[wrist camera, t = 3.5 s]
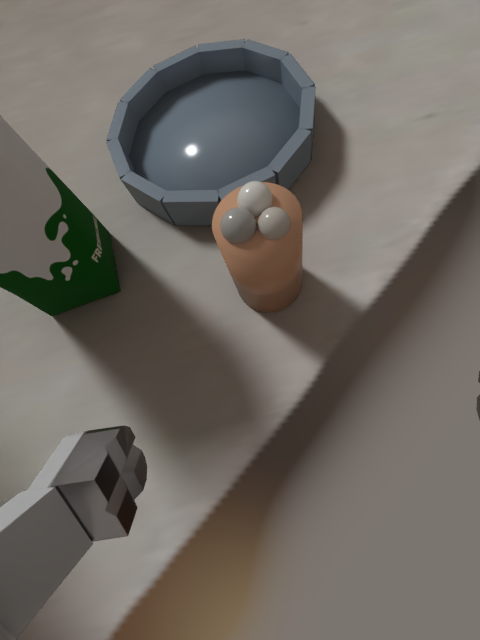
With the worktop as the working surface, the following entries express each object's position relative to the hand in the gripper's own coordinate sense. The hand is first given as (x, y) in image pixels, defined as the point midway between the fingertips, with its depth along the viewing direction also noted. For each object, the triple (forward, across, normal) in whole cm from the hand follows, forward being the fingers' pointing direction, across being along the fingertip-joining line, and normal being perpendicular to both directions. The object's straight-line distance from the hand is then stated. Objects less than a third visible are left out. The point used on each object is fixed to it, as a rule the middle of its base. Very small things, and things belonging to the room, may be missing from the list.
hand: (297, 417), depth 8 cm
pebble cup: (+21, 0, +4) cm, 22 cm away
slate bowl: (+33, +3, -8) cm, 34 cm away
